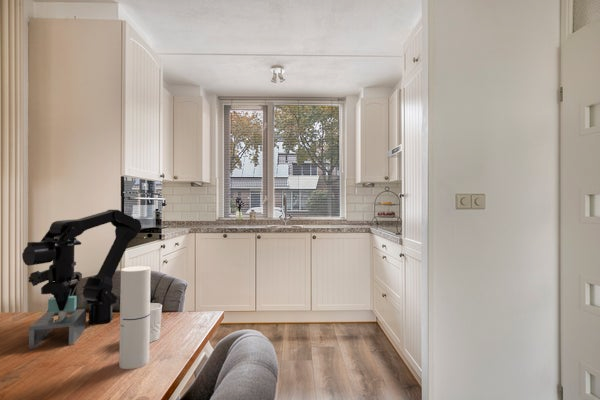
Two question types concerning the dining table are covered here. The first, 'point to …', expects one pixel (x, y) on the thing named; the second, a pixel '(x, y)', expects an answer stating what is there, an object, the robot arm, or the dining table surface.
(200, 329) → the dining table surface
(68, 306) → the peg
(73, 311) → the grey square frame stand
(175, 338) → the dining table surface
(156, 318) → the white cup
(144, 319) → the cylindrical container
